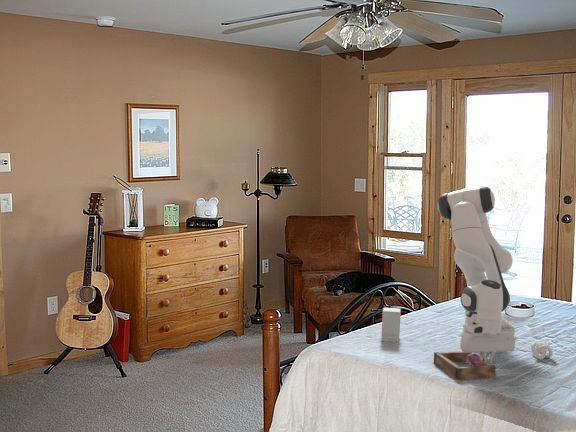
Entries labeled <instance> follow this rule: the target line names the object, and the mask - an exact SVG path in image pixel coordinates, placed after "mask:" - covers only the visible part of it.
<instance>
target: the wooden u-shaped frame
mask: <svg viewBox="0 0 576 432" xmlns="http://www.w3.org/2000/svg"><path fill="white" fill-rule="evenodd" d="M468 354H471V353H465V352H463V351H462V350H459V351H458V350H457V351H455V350H454V351H439V352H438V351H437V352H436V351H435V352H433V364H434V365H436V366H437V367H439V368H440V369H442V370H443V371H444V372H445V373H447V374H448V375H450V376H451V377H453V378H454V379H456V380H457V381H459V380H460V381H461V380H463V381H464V380H475V379H476V380H477V379H494V378H496V370H497V369H496V368H497V366H496V365H494V364H493V365H492V364H488V365H489V366H471V365H470V366H469V365H468V366H459V365H458V364H463V363H464V364H465V363H466V364H467V363H469V362H467V361H466V356H467V355H468ZM469 364H470V363H469Z"/></svg>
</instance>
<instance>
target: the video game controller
mask: <svg viewBox="0 0 576 432" xmlns="http://www.w3.org/2000/svg"><path fill="white" fill-rule="evenodd" d="M466 361H467V362H469V364H470V366H489V365H490V364H487V363H486V362H485V361H484V360H483V358H482V357H481V355H480V354H477V353H471V354H468V355H467V356H466Z"/></svg>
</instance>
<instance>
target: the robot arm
mask: <svg viewBox="0 0 576 432" xmlns="http://www.w3.org/2000/svg"><path fill="white" fill-rule="evenodd" d="M495 198H496V197H495V193H494V192H493V191H492V189H491V188H489V187H488V186H479V187H468V188H463V189H460V190H455V191H452V192H449V193H448V192H445V193H443V194H440V195H439V197H438V199H437V210H438V213H439V214H440V216H441V218H443V219H446V220H449V221H450V223H451V234H452V239H453V240H452V241H453V244H454V246H455V251H454V254H453V259H454V263H455V264H456V265H457V267H458V268H460V270H461V272H462V273H463V275H464V278H465V282H466V287H464V288H463V289H462V291H461V293H460V304H461V306H462V308H464V310H465V312H464V313H465V318H464V323H463V327H462V331H461V333H460V334H461V338H460V343H459V344H460V345H459V346H460V347H459V348H460V351H463V352H465V353H472V354H477V353H479V356H480V358H482V359H483V360H484V361H485V362H486V363H487V364H488V365H492V364H493V363H492V362H493V359H494V357H495V356H496V352H513V351H514V350H515V348H516V342H515V340H516V338H517V337H516V334H515V331H516V330H515V327H514V326H512V325H510V323H509V321H507V320H506V319H505V318H504V317H503V315H502V312H504V311H505V310H506V308H508V306H509V304H510V302H511V295H510V292H509V291H508V288H507V286H506V284H505V280H504V278H503V275H502V274H506V273H508V271H509V270H511V268H512V266H513V256H512V253H511V252H510V251H509V250H507V249H506V248H505V247H503V246H502V245H501V244H500V243H499V241H498V240H497V239H496V238H495V236H494V234H493V233H492V231H491V228H490V224H489V221H488V217H487V213H489V212H492V211H493V209H494V208H495V203H496V199H495ZM487 353H489V355H488V356H487V357H486V355H487Z"/></svg>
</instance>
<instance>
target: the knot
mask: <svg viewBox="0 0 576 432" xmlns="http://www.w3.org/2000/svg"><path fill="white" fill-rule="evenodd" d="M530 348H531V352H532V356H533V357H535V359H537V360H540V361H542V360H544V359H545V358H546V359H550V358H551V357H552V356H553V355H554V354H553V352H554V351H553V349H552V347H551V346H549V345H548V344H547V342H545V341H542V342H539V343H538V342H532V343H531V347H530ZM547 352H548V353H547ZM539 354H540V355H539Z"/></svg>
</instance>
